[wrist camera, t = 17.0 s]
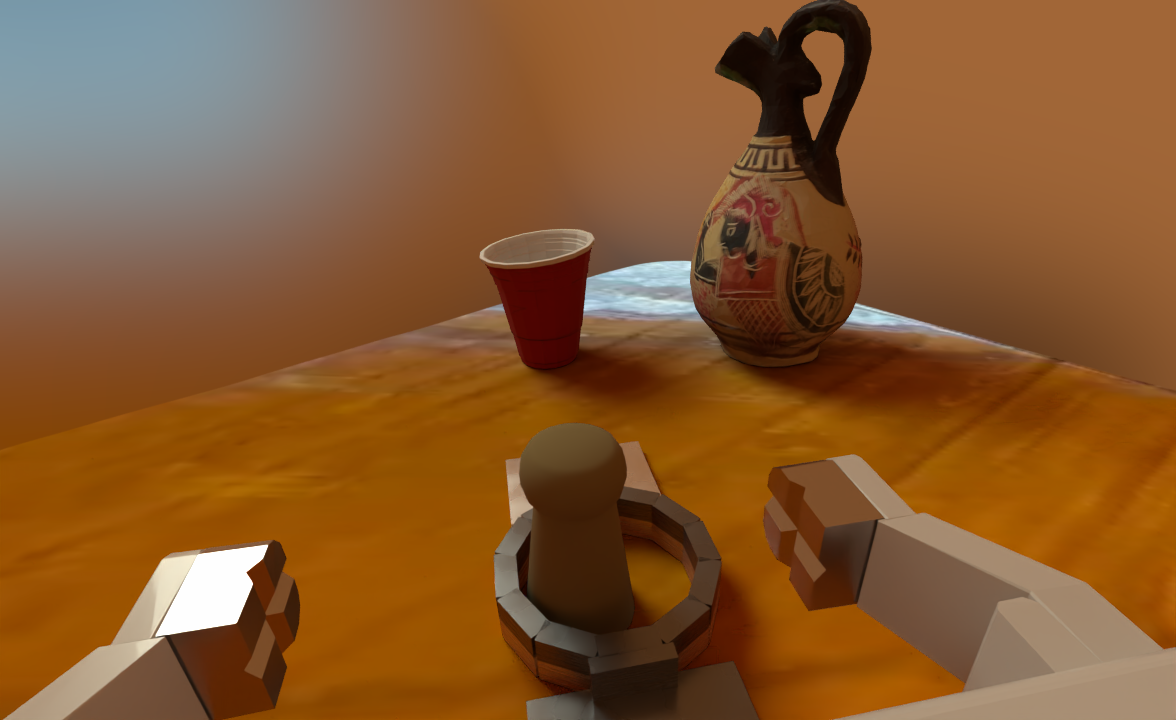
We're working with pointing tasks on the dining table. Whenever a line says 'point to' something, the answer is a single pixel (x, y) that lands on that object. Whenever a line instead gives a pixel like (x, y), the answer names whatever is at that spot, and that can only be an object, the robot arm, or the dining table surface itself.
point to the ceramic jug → (784, 201)
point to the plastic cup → (542, 291)
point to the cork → (577, 528)
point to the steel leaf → (638, 479)
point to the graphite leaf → (629, 635)
